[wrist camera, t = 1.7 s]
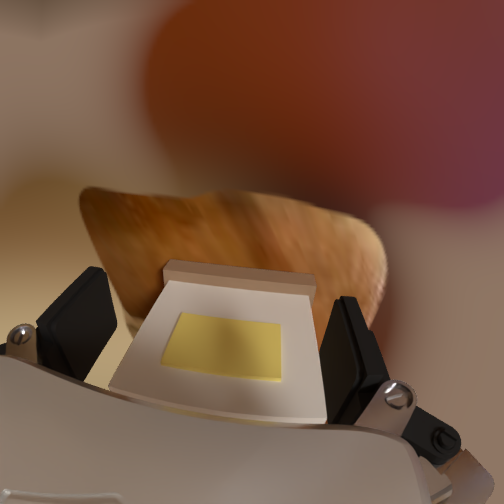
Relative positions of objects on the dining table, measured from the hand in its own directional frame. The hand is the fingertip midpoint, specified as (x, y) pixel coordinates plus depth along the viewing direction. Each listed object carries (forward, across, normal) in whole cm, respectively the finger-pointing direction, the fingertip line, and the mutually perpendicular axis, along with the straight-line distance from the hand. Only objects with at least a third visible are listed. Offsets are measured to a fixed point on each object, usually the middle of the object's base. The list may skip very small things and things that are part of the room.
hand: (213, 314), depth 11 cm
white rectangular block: (+13, 0, +8) cm, 15 cm away
